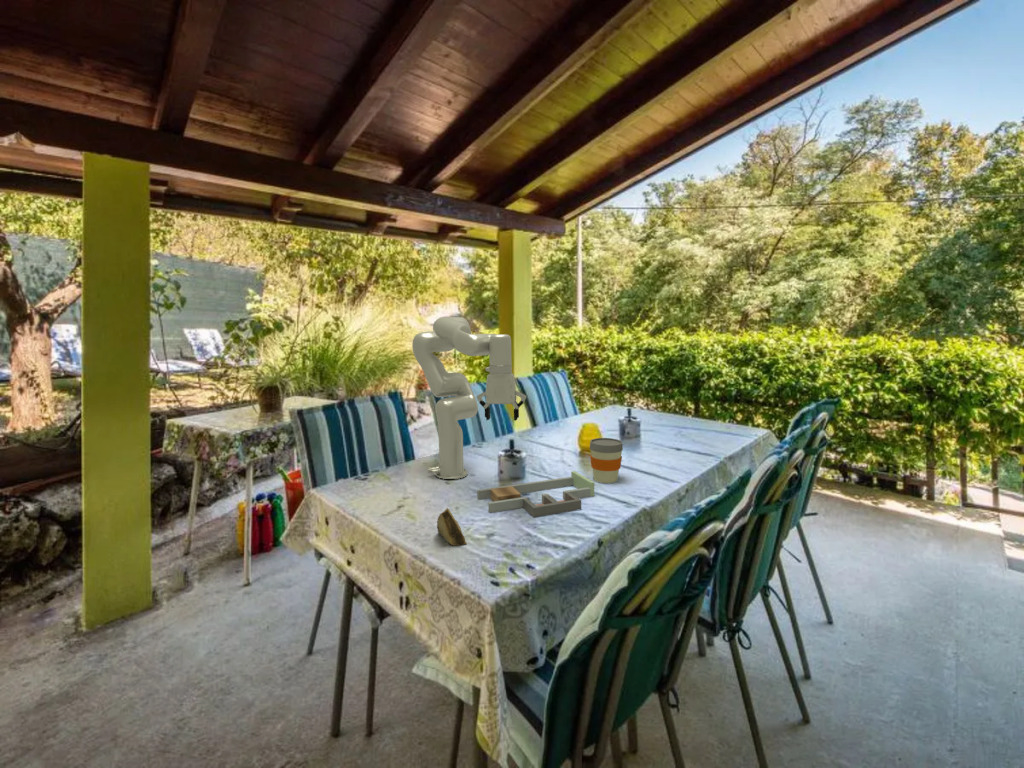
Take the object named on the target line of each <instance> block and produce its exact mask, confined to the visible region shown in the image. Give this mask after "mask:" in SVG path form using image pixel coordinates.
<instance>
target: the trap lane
mask: <svg viewBox="0 0 1024 768" xmlns="http://www.w3.org/2000/svg"><path fill="white" fill-rule="evenodd" d="M570 473H571V474H570V475H571V476H568V477H567V476H565V477H559V478H553V479H545V480H539V481H532V482H531V481H530V482H523V483H518V484H517V483H516V484H510V485H508V484H507V485H503V486H495V487H489V488H479V489H477V490H476V499H477V500H486V499H491V489H495V488H503V487H511V486H513V487H514V488H515V489H516V490H517V491H518V492H519V493H520V494H526V493H533V492H538V491H539V490H540V491H545V489H547V490H551V488H554V489H558V488H557V487H561V488H565V487H564V486H567V487H572V486H571V485H574V486H573V487H574V489H568V490H562V500H557V499H555V498H554V497H552V496H551V495H550V494H549V493H542V494H541V503H538V504H535V503H534V502H532V500H531V499H529V498H528V497H527V496H521V497H520V498H514V499H507V500H500V501H494V502H493V501H488V502H487V503H488V513H490V514H491V513H498V512H505V511H510V510H516V509H517V510H518V509H521V508H522V509H524V510H525V511H526V512H527V513H528V514H529V515H530V516H532V517H533V518H537V517H538V518H539V517H543V516H548V515H554V514H555V515H556V514H560V513H561V512H562V513H567V511H568V512H572V510H574V511H578V510H577V509H580V510H582V499H584V498H583V497H587V498H591V497H590V496H593V497H595V482H594V481H592V480H591V479H589V478H588V477H585V476H584V475H582V474H581V473H579V472H577V471H576V470H573V471H571V472H570ZM576 487H577V488H576ZM579 498H580V499H579ZM563 499H564V500H563Z"/></svg>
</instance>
